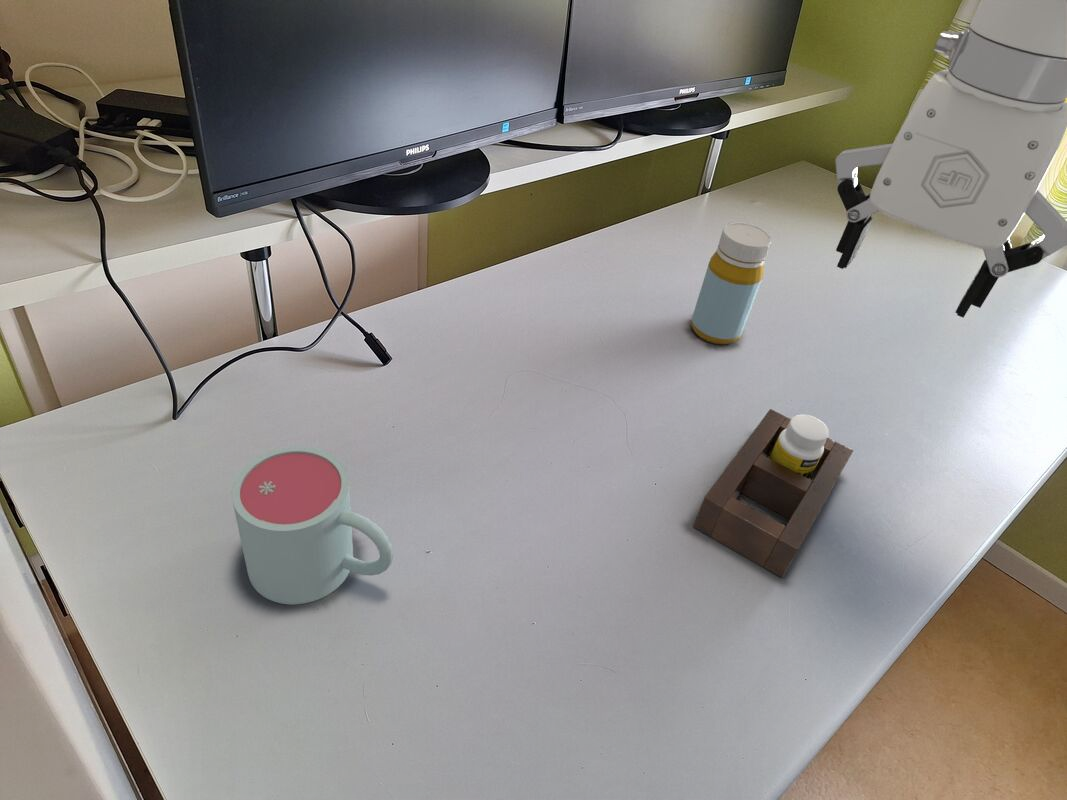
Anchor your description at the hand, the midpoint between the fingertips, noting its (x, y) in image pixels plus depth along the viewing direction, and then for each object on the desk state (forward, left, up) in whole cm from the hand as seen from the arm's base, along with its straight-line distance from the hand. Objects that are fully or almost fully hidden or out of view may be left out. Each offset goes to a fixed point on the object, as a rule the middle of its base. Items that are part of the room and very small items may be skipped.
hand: (902, 285), depth 62 cm
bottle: (+20, -25, -28) cm, 43 cm away
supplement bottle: (+2, -4, -28) cm, 29 cm away
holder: (+2, 0, -28) cm, 28 cm away
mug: (+31, +36, -28) cm, 55 cm away
